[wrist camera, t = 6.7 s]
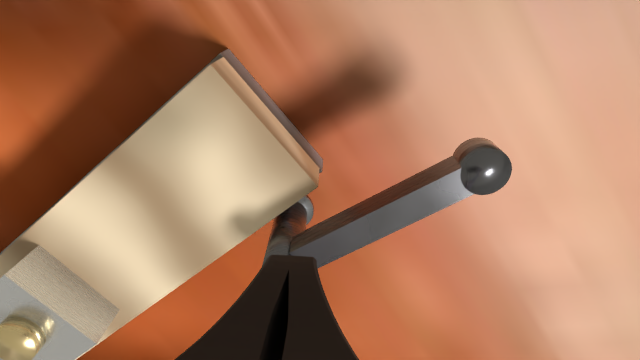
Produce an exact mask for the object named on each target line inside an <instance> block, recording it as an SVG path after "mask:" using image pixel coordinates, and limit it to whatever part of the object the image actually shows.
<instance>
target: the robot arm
mask: <svg viewBox="0 0 640 360" xmlns="http://www.w3.org/2000/svg"><path fill="white" fill-rule="evenodd" d="M175 360H359V359H358V357H357V356H356V355H355V353H354V351H353V350H352V348H351V346H350V345H349V343H348V341H347V340H346V338H345V336H344V334H343V333H342V331H341V329H340V327H339V325H338V323H337V321H336V319H335V317H334V315H333V312H332V310H331V308H330V306H329V303H328V301H327V298H326V296H325V293H324V290H323V288H322V285H321V281H320V278H319V274H318V269H317V260H316V259H315V258H314V257H308V256H289V255H271V256H269V257H268V258H267V260H266V262H265V263H264V265H263V266H262V268H261V269H260V271H259V272H258V274H257V275H256V276H255V278H254V279H253V281H252V282H251V283H250V284H249V286H248V287H247V288H246V290H245V291H244V292H243V293H242V295H241V296H240V297H239V298H238V299H237V301H236V302H235V303H234V304H233V305H232V306H231V307H230V308H229V309H228V311H227V312H226V313H225V314H224V315H223V316H222V317H221V318H220V319H219V320H218V321H217V322H216V323H215V324H214V325H213V326H212V327H211V328H210V329H209V330H208V331H207V332H206V333H205V334H204V335H203V336H202V337H201V338H200V339H199V340H198V341H196V342H195V343H194V344H193V345H192V346H191V347H189V348H188V349H187V350H186V351H185V352H183V353H182V354H181V355H180V356H179V357H177V358H176V359H175Z"/></svg>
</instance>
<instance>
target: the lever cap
mask: <svg viewBox="0 0 640 360" xmlns="http://www.w3.org/2000/svg"><path fill="white" fill-rule="evenodd" d="M119 310H120V309H119V308H117V307H116V306H115V305H114V304H112V303H111V302H110V301H109V300H107V299H106V298H105V297H104V296H102V295H101V294H100V293H99V292H97V291H96V290H95V289H94V288H92V287H91V286H90V285H89V284H87V283H86V282H85V281H84V280H82V279H81V278H80V277H79V276H77V275H76V274H75V273H74V272H72V271H71V270H70V269H69V268H67V267H66V266H65V265H64V264H62V263H61V262H60V261H59V260H57V259H56V258H55V257H54V256H52V255H51V254H50V253H49V252H47V251H46V250H45V249H44V248H42V247H41V246H40V245H38V246H37V247H36V248H35V249H34V250H33V251H31V252H30V253H29V254H28V255H27V256H26V257H24V258H23V259H22V260H21V261H20V262H19V263H17V264H16V265H15V266H14V267H13V268H12V269H10V270H9V271H8V272H7V273H6V274H4V275H3V276H2V277H1V278H0V360H75V359H76V358H78V357H79V356H81V355H82V354H83V353H85V352H86V351H88V350H89V349H90V348H92V347H93V346H95V345H96V344H97V343H98V341H99V340H100V338H101V337H102V335H103V334H104V332H105V331H106V329H107V328H108V327H109V325H110V324H111V322H112V321H113V319H114V318H115V316H116V315H117V313H118V312H119Z"/></svg>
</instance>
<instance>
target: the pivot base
mask: <svg viewBox="0 0 640 360" xmlns="http://www.w3.org/2000/svg"><path fill="white" fill-rule="evenodd" d="M297 202H299V203H301V204H302V205H303V206H304V207H305V208H306V211H307V222H306V225H307V224H308V223H309V222H310V221H311V219H312V216H313V209H314V208H313V203H312V201H311V199H310V198H309V197H308V196H307V195H306V196H304V197H303V198H302V199H300V200H299V201H297ZM274 219H275V218H274Z"/></svg>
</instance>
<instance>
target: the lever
mask: <svg viewBox="0 0 640 360" xmlns="http://www.w3.org/2000/svg"><path fill="white" fill-rule="evenodd" d="M511 171H512V166H511V162H510V159H509V158H508V156H507V155H506V154H505V153H504V152H502V151H501V150H500V149H499V148H498V147H497V146H496V145H495V144H494V143H493V142H491V141H490V140H488V139H485V138H473V139H469V140H467V141H465V142H463V143H462V144H461V145H460V146H459V147H458V148H457V149H456V150H455V152H454V154H453V156H451V157H449V158H447V159H445V160H443V161H441V162H439V163H437V164H435V165H433V166H431V167H429V168H427V169H425V170H423V171H421V172H419V173H417V174H415V175H414V176H412V177H410V178H408V179H406V180H404V181H402V182H400V183H398V184H396V185H394V186H392V187H390V188H388V189H386V190H384V191H382V192H380V193H378V194H376V195H374V196H372V197H370V198H368V199H366V200H364V201H362V202H360V203H358V204H356V205H354V206H352V207H350V208H348V209H346V210H344V211H342V212H340V213H338V214H336V215H334V216H332V217H330V218H328V219H326V220H324V221H322V222H320V223H318V224H317V225H315V226H313V227H311V228H309V229H307V230H306V222H307V211H306V208H305V207H304V206H303V205H302V204H301V203H299V202H296V203H295V204H293V205H292V206H290V207H289V208H288V209H286V210H285V211H283V212H282V213H281V214H279V215H278V216H276V217H275V219H274V223H273V227H272V230H271V234H270V238H269V242H268V246H267V250H266V253H265V257H264V261H263V265H264V263H265V262H266V260H267V258H268V257H269V256H271V255H289V256H308V257H314V258H315V259H316V260H317V268H319V267H322V266H324V265H326V264H328V263H330V262H332V261H334V260H336V259H338V258H341V257H343V256H345V255H347V254H349V253H351V252H353V251H355V250H357V249H359V248H362V247H364V246H366V245H368V244H370V243H372V242H374V241H376V240H378V239H381V238H383V237H385V236H387V235H389V234H391V233H393V232H395V231H397V230H399V229H402V228H404V227H406V226H408V225H410V224H412V223H414V222H416V221H418V220H420V219H423V218H425V217H427V216H429V215H431V214H433V213H435V212H437V211H439V210H442V209H444V208H446V207H448V206H450V205H452V204H454V203H456V202H458V201H460V200H463V199H465V198H467V197H469V196H471V195H473V194H478V195H486V194H491V193H494V192H496V191H498V190H499V189H501V188H502V187H503V186H504V185H505V184H506V183H507V181H508V180H509V178H510V175H511ZM263 265H262V266H263Z"/></svg>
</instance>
